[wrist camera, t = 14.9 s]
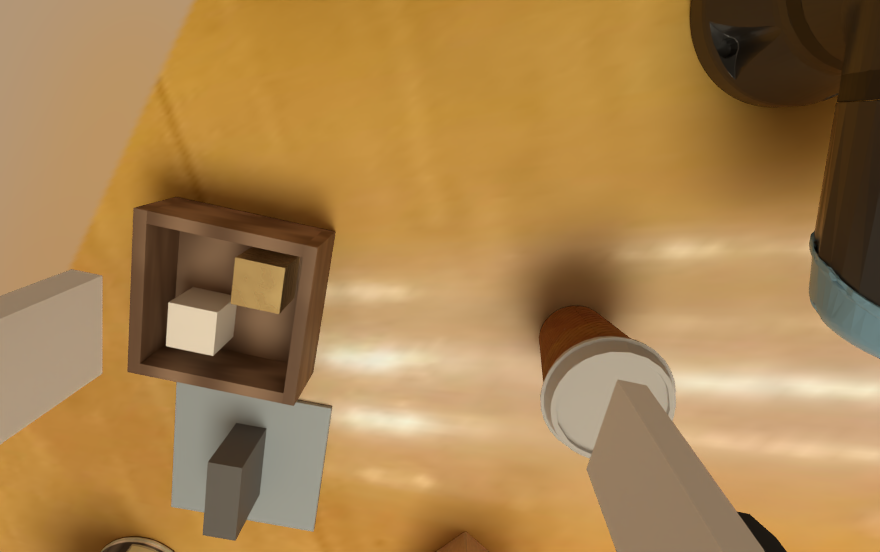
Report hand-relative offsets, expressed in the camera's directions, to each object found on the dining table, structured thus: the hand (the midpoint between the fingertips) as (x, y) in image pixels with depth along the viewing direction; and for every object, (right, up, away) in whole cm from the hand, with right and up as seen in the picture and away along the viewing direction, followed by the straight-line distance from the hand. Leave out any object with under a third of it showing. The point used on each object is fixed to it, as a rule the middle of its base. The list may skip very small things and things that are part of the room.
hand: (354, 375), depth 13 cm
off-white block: (-18, -1, +33) cm, 37 cm away
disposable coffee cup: (+14, -3, +34) cm, 37 cm away
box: (-15, +1, +33) cm, 36 cm away
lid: (-17, -16, +39) cm, 45 cm away
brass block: (-12, +3, +31) cm, 34 cm away
